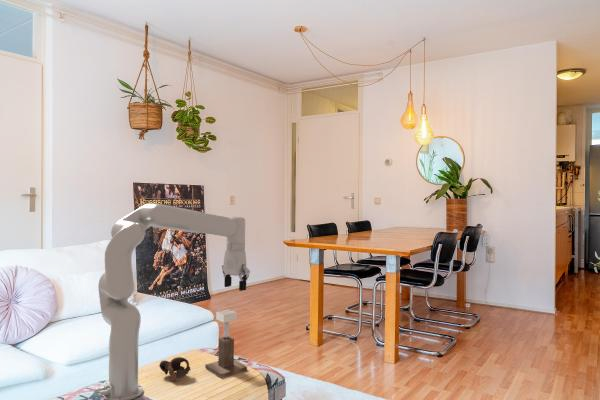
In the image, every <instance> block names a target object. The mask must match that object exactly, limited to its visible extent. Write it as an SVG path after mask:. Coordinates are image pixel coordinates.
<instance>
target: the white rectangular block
mask: <svg viewBox="0 0 600 400" xmlns="http://www.w3.org/2000/svg"><path fill="white" fill-rule="evenodd" d="M215 314H216V315H215V319H216V320H217V321H220V322H221V323H223V337H224V340H227V339H229V336H230V322H233V321H237V320H238V312H237V311H235V310H232V309H230V308H229V309H225V310H224V309H222V310H217V311H216V313H215Z"/></svg>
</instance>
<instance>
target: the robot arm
mask: <svg viewBox="0 0 600 400" xmlns="http://www.w3.org/2000/svg"><path fill="white" fill-rule="evenodd" d="M150 227H153V228H159V229H164V230H173V231H178V232H179V231H180V232H186V233H192V234H193V233H195V234H207V235H214V236H218V237H219V236H220V237H226V249H225V252H224V258H223V264H222V265H221V269H222V273H223V278H224V281H223V283H224V288H229V287H232V276H234V277H238V278H239V282H238V283H239V284H238V289H239V291H240V292H242V291H246V290H247V281H248V279H249V275H250V273H251V270H250V269H249V268H248V267H247V254H246V218H244V216H230V217H228V216H223V215H216V214H212V213H206V212H202V211H198V210H192V209H188V208H187V209H186V208H183V207H182V208H181V207H176V206H172V205H166V204H160V203H146V204H144V205H142V206H140V207H139V208H137V209H135V210H133V212H131V213H129V214H127V215H126V216H124V217H123V218H121V219H119V220H118V221H116V222H115V223H114V224H113V226H112V227H111V232H110V233H111V234H110V235H111V239H110V241H109V242H108V244H107V246H106V248H105V251H104V271H105V272H104V273H103V274H102V275H100V278H99V281H98V286H97V287H98V296H99V304H100V305H99V306H100V311H101V316H102V319H103V320H104V322H105V323H106V324H108V325H109V326H110V334H109V339H108V340H109V342H108V381H105V384H104V385H103V386H101V387H96V388H93V395H94V396H96V395H99V396H100V397H101V396H103V399H104V400H133V399H136V398H138V397H140V396H141V395H142V394H143V391H144V390H143V388H144V387H143V386H142V385H141V384H139V338H140V336H139V335H140V328H141V313H140V310H139V309H138V308H137V307H136V305H134V304H132V303H131V302H129V301H128V299H129V298H131V296H133V293H134V290H135V281H134V275H133V266H132V256H133V253H134V251H135V248H137V246H138V245H140V244H141V243H142V242H143V240H144V238H145V234H146V231H147V229H148V230H149V228H150Z"/></svg>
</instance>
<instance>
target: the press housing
mask: <svg viewBox="0 0 600 400" xmlns="http://www.w3.org/2000/svg"><path fill="white" fill-rule="evenodd" d="M217 359H218V361H215V362H214V361H213V362H210V363H207V364H205V365H204V368H206V370H207V371H208V372H210V373H211V374H213V375H214V376H216V377H218V378H219V379H223V378H226V377H228V376H229V377H230V376H232V375H236V374H239V373H244V372H246V371H248V367H247V366H246V365H245V364H243V363H241V362H240V361H237V360H236V359H235V338H234V337H232V336H230V335H229V339H227V340H224V336H221V337H218V358H217Z"/></svg>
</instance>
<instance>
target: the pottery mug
mask: <svg viewBox="0 0 600 400" xmlns="http://www.w3.org/2000/svg"><path fill="white" fill-rule="evenodd" d="M182 363H185V364H186V367H185V366H182V365H181V364H182ZM158 366H159V369H160V370H161V371H162V372H163V373H164V374H165V376H167V375H168V374H169V375H171V377H170V381H171V382H173V381H174V382H176V381H177V380H179V379H182V378H183V377H186V376H187V374H189V372H190V371H191V370H192V369H191V366H190V363H189V361H188V359H187V358H184V357H181V356H178V357H177V356H176V357H174V358H172V359H171V360H170V361H168V360H161V361H160V363H159V365H158Z"/></svg>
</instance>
